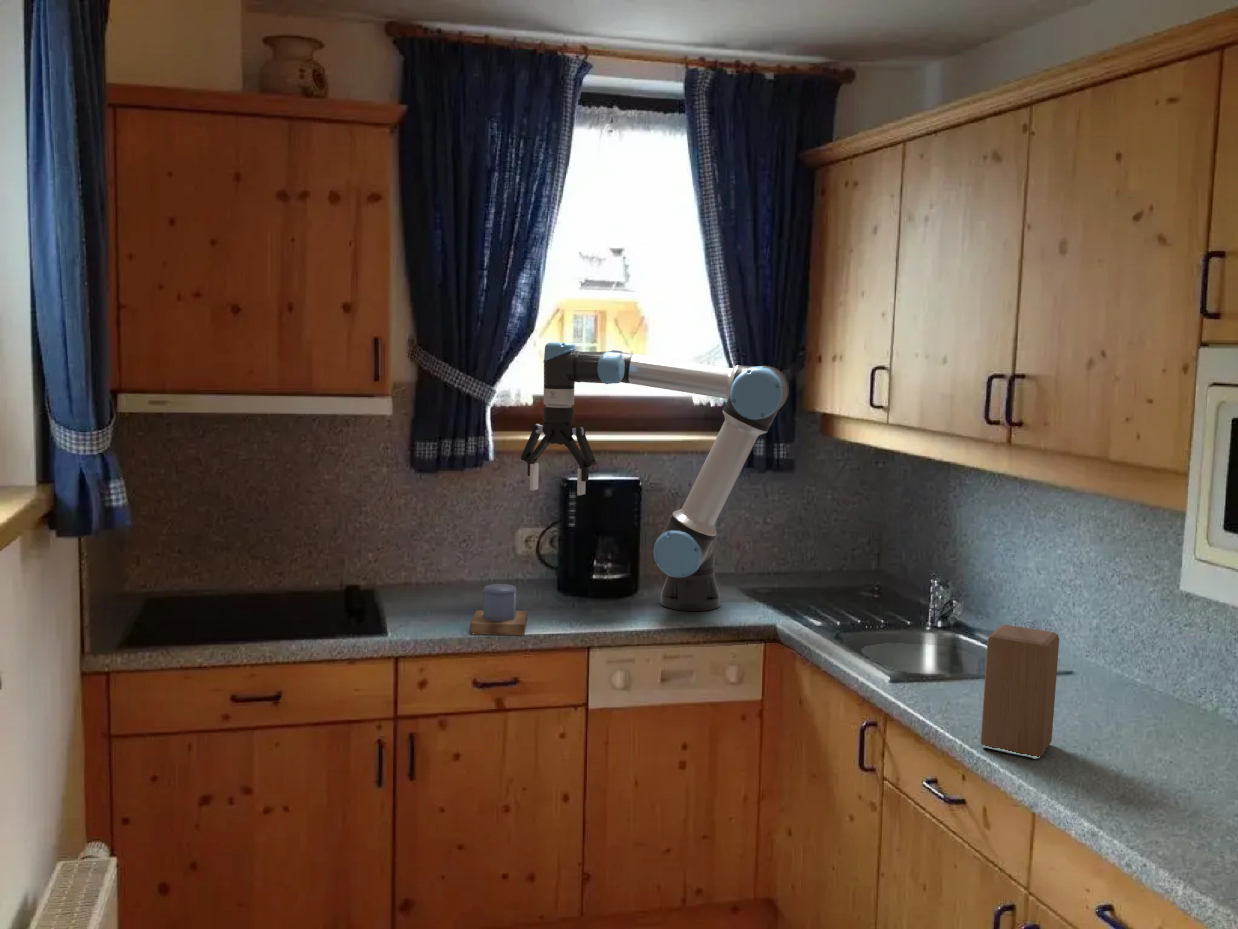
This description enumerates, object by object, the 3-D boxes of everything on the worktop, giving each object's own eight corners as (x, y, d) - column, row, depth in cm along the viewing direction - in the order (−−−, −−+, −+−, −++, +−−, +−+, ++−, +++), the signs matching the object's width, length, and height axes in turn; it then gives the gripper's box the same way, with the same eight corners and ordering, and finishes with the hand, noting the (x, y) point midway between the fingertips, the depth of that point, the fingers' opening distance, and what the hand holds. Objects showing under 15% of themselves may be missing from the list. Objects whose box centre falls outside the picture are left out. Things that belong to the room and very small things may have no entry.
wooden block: (978, 749, 194) (986, 635, 192) (993, 732, 203) (1000, 622, 200) (1040, 762, 189) (1048, 645, 187) (1052, 744, 197) (1060, 631, 195)
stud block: (527, 621, 269) (527, 590, 268) (524, 635, 257) (524, 602, 256) (476, 620, 269) (476, 589, 268) (470, 634, 257) (471, 601, 256)
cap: (517, 614, 266) (518, 584, 265) (512, 622, 259) (512, 591, 258) (487, 612, 266) (487, 583, 266) (481, 620, 259) (481, 590, 258)
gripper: (507, 404, 281) (506, 489, 284) (595, 409, 270) (593, 498, 272) (524, 402, 288) (523, 486, 291) (610, 407, 276) (609, 494, 279)
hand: (557, 492), depth 281 cm, fingers open, 13 cm apart
